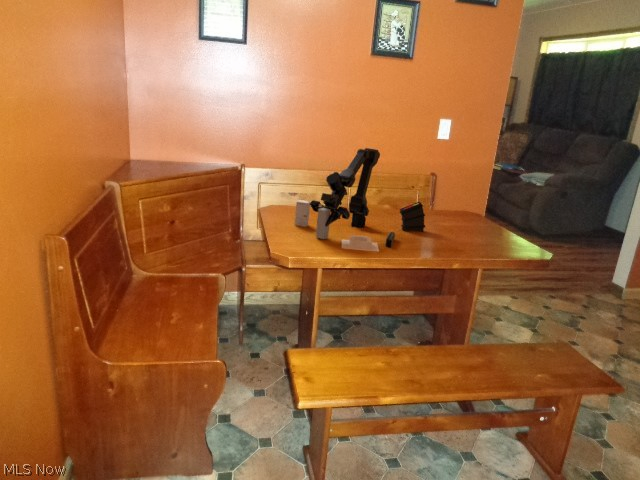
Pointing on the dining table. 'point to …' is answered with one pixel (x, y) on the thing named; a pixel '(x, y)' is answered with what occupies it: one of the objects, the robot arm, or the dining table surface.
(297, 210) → the skincare box
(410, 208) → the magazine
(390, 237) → the mobile phone
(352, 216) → the robot arm
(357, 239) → the white flat stepped block
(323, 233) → the plug
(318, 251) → the dining table surface
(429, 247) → the dining table surface
